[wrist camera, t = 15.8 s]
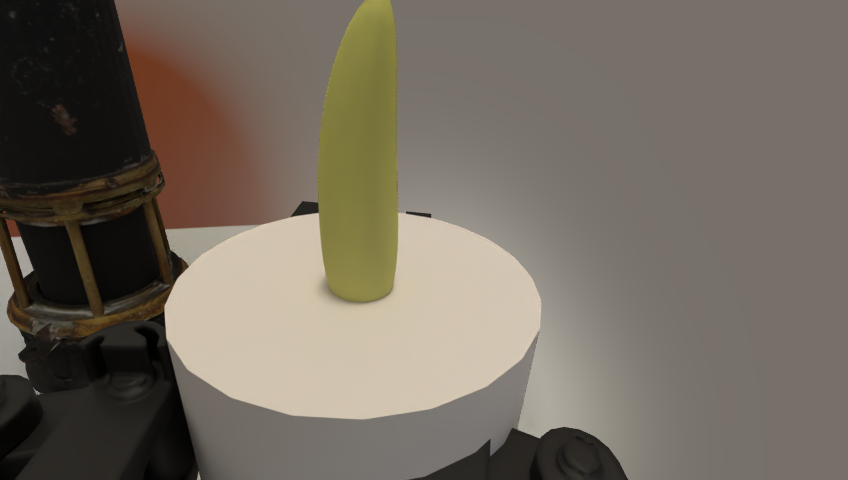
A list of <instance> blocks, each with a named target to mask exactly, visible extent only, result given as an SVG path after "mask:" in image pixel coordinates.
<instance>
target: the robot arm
mask: <svg viewBox="0 0 848 480" xmlns="http://www.w3.org/2000/svg"><path fill="white" fill-rule="evenodd" d="M315 213H319V206H318V203H315V202H304V201H302V203H301V204H300V205H299V207H298V208H297V209H296V211H295V212H294V213H293V214H292V216H291V217H294V216H301V215H308V214H315ZM406 214H410V215H416V216H422V217H428V218H431V214H426V213H416V212H406ZM291 217H290V218H291ZM78 348H79V351H80V353H81V356H82V359H83V362H84V365H85V367H86V370H87V373H88V376H89V378H90V381H91V383H90V385H89V386H88V387H86V388H81V389H75V390H68V391H61V392H54V393H46V394H39V395H36V393H35V391H34V389H33V386H32V384H31V382H30V380H28V379H26V378H24V377H22V376H20V375H0V480H197V476H198V471H199V470H198V465H197V461H196V457H195V453H194V449H193V445H192V441H191V437H190V433H189V429H188V425H187V420H186V416H185V412H184V408H183V404H182V400H181V396H180V392H179V388H178V384H177V380H176V376H175V371H174V367H173V363H172V359H171V355H170V351H169V347H168V343H167V339H166V329H165V327H163V326H161V325H160V324H158V323H156V322H152V321H145V320H135V321H125V322H121V323H117V324H114V325H110V326H107V327H105V328H103V329H101V330H99V331H97V332H95V333H93V334H91V335H89V336H88V337H87V338H85V339H84V340H83V341H82V342H81V343H79V344H78ZM490 443H491V438H490V439H489V440H488V441H487V442H486V443H485V444H484V445H483V446H482V447H481V448H480V449H478V450H477V451H476V452H475V453H473V454H471V455H469V456H467V457H465V458H463V459H461V460H458V461H456V462H454V463H452V464H450V465H448V466H446V467H444V468H442V469H440V470H437V471H435V472H433V473H431V474H429V475H427V476H425V477H420V478H414V479H409V480H628V479H627V477H626V475H625V473H624V471H623V469H622V467H621V465H620V463H619V461H618V460H617V459H616V457H615V456H614V455H613V453H612V452H611V450H610V449H609V448H608V447H607V446H606V445H605V444H603V443H602V442H601V441H600V440H598V439H597V438H596V437H594V436H592V435H590V434H588V433H586V432H584V431H582V430H579V429H573V428H567V427H562V428H557V429H551V430H550V431H549V432H547V433H546V434H544V435H543V436H542V437H541V438H540V439H539V438H537V437H534V436H532V435H529V434H527V433H524V432H521V431H519V430H516V429H514V428H512V429H511V431H510V433H509V435H508V437H507V439H506V441H505V443H504V444H503V445H502V446H501V447H500V448H499V449H498V450H497V451H496V452H495V453H494V454H493V455H492V456H491V457H490Z"/></svg>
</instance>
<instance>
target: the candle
mask: <svg viewBox="0 0 848 480" xmlns="http://www.w3.org/2000/svg"><path fill="white" fill-rule="evenodd" d="M396 116H397V46H396V31H395V21H394V15H393V11H392V7H391V3H390V0H365V1H364V2H363V3H362V5H361V6H360V7H359V8H358V10H357V12H356V13H355V15H354V17H353V18H352V20H351V22H350V24H349V25H348V28H347V30H346V32H345V35H344V37H343V39H342V42H341V44H340V46H339V49H338V52H337V55H336V58H335V62H334V65H333V68H332V71H331V76H330V80H329V84H328V89H327V93H326V97H325V103H324V109H323V116H322V122H321V131H320V140H319V156H318V157H319V158H318V206H319V213H315V214H308V215H301V216H294V217H291V218H287V219H283V220H279V221H275V222H271V223H267V224H263V225H260V226H258V227H255V228H253V229H250V230H248V231H245V232H243V233H240V234H238V235H235V236H233V237H230V238H228V239H227V240H225V241H223V242H222V243H220V244H218V245H217V246H215V247H214V248H212V249H210V250H209V251H207V252H205V253H204V254H202V255H201V256H199V257H198V258H197V259H196V260H195V261H194V262H193V263H192V264H191V265H190V266H189V267H188V268H187V269H186V270H185V271H184V272H183V273H182V274H181V275H180V276H179V277H178V278H177V280H176V282H175V285H174V287H173V289H172V291H171V293H170V295H169V298H168V300H167V302H166V304H165V306H164V309H165V325H166V339H167V343H168V347H169V351H170V355H171V359H172V363H173V367H174V371H175V376H176V380H177V384H178V388H179V392H180V396H181V400H182V404H183V408H184V412H185V416H186V420H187V425H188V429H189V433H190V437H191V441H192V445H193V449H194V453H195V457H196V461H197V465H198V470H199V474H200V478H201V480H409V479H414V478H420V477H425V476H427V475H429V474H431V473H433V472H435V471H437V470H440V469H442V468H444V467H446V466H448V465H450V464H452V463H454V462H456V461H458V460H461V459H463V458H465V457H467V456H469V455H471V454H473V453H475V452H476V451H477V450H478V449H480V448H481V447H482V446H483V445H484V444H485V443H486V442H487V441H488V440H489V439H490V438H491V443H490V457H491V456H492V455H493V454H494V453H495V452H496V451H497V450H498V449H499V448H500V447H501V446H502V445H503V444H504V443H505V441H506V439H507V437H508V435H509V433H510V431H511V429H512V428H514V429H516V430H517V427H518V423H519V418H520V414H521V409H522V405H523V401H524V396H525V392H526V387H527V383H528V378H529V374H530V370H531V365H532V360H533V356H534V352H535V348H536V343H537V339H538V334H539V330H540V315H541V299H540V296H539V294H538V291H537V289H536V287H535V284H534V282H533V279H532V277H531V276H530V275H529V273H528V272H527V271H526V270H525V269H524V268H523V267H522V265H521V264H520V263H519V262H518V261H517V260H516V259H515V258H514V257H513V256H512V255H511V254H509V253H508V252H506V251H505V250H504V249H502V248H501V247H499V246H498V245H496V244H495V243H493V242H492V241H490V240H489V239H487V238H484V237H482V236H480V235H478V234H476V233H473V232H471V231H469V230H466V229H464V228H462V227H459V226H456V225H453V224H449V223H446V222H442V221H439V220H435V219H432V218H428V217H422V216H416V215H410V214H404V213H398V181H397V147H396V146H397V143H396V142H397V138H396V137H397V135H396V134H397V133H396V131H397V130H396V128H397V125H396V124H397V123H396V122H397V121H396V120H397V117H396Z"/></svg>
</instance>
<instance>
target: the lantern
mask: <svg viewBox="0 0 848 480" xmlns="http://www.w3.org/2000/svg"><path fill="white" fill-rule="evenodd" d="M160 170H161V167H160V164H159V161H158V158H157V155H156V153H155V151H154V150H152V149H151V148H150V143H149V139H148V135H147V132H146V127H145V123H144V119H143V115H142V111H141V107H140V103H139V99H138V95H137V91H136V87H135V83H134V79H133V74H132V70H131V66H130V62H129V58H128V54H127V50H126V46H125V42H124V38H123V34H122V30H121V26H120V22H119V18H118V14H117V10H116V6H115V2H114V0H0V247H1V250H2V253H3V256H4V259H5V262H6V265H7V268H8V271H9V274H10V277H11V281H12V284H13V287H14V290H15V291H14V293H13V295H12V296H11V298H10V299H9V301H8V307H7V314H8V317H9V320H10V322H11V323H13V324H14V325H15V326H16V327H18V329H19V330H20V332H21V334H22V336H23V337H24V341H25V344H26V347H25V348H24V349H23V350H22V351H21V352H20V353H19V354H18V356H19V359H20V360H21V361H22V362H25V364H26V371H27V375H28V377H29V380H30V382H31V384H32V386H33V387H34V388H35V389H36V390H38V391H40V392H41V393H43V394H46V393H54V392H61V391H68V390H75V389H81V388H86V387H88V386H89V385H90V383H91V381H90V378H89V376H88V373H87V370H86V367H85V365H84V362H83V359H82V356H81V353H80V351H79V348H78V344H79V343H81V342H82V341H83V340H84V339H85V338H87V337H88V336H89V335H91V334H93V333H95V332H97V331H99V330H101V329H103V328H105V327H107V326H110V325H114V324H117V323H121V322H125V321H135V320H145V321H152V322H156V323H158V324H160V325H161V326H163V327H165V329H166V325H165V309H164V306H165V304H166V302H167V300H168V298H169V295H170V293H171V291H172V289H173V287H174V285H175V282H176V280H177V278H178V277H179V276H180V275H181V274H182V273H183V272H184V271H185V270H186V269H187V268H188V267H189V266H188V264H187V263H186V262H185V261H184V260H183V259H182V258H180V257H178V256H177V255H176V254H175V253H174V252H172V251H171V250H170V247H169V243H168V240H167V236H166V232H165V229H164V225H163V221H162V218H161V214H160V211H159V207H158V203H157V199H156V196H157V195H158V194H160V193H161V191H162V189H163V188H164V186H165V180H164V177H163V175H162V172H161V171H160ZM157 177H159V178H160V181H159V184H158V186H157ZM156 186H157V187H156ZM3 211H5V212H7V213H3ZM5 219H9V220H14V221H15V222H16V225H17V227H18V230H19V232H20V235H21V238H22V240H23V243H24V245H25V248H26V251H27V253H28V256H29V258H30V261H31V264H32V266H33V269H34V270H33V271H32V272H31V273H30V274H28V275H27V276H26V277H25V278H24V279H23V276H22V272H21V269H20V266H19V263H18V259H17V256H16V253H15V250H14V246H13V243H12V240H11V237H10V233H9V230H8V227H7V224H6V220H5Z"/></svg>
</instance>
